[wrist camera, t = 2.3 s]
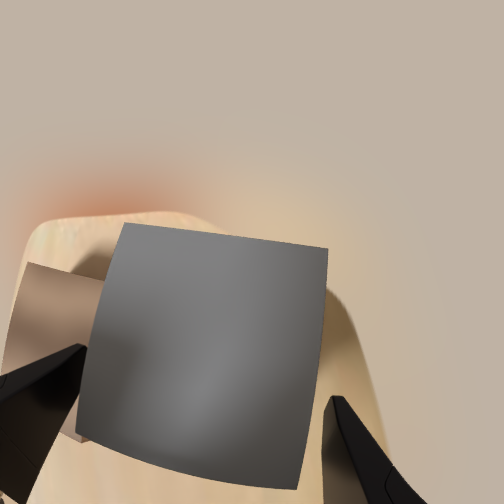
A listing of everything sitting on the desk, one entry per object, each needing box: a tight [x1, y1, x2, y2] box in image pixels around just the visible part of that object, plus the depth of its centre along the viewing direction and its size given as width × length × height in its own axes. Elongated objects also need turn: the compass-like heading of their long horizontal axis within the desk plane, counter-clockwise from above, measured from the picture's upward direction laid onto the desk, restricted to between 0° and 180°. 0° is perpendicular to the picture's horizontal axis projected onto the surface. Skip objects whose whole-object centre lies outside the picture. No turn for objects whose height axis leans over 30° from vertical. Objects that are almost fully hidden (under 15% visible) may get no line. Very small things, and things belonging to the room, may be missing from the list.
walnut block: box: [1, 262, 105, 443], centre depth 16 cm, size 10×8×4 cm
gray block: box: [75, 222, 328, 490], centre depth 10 cm, size 8×7×4 cm
